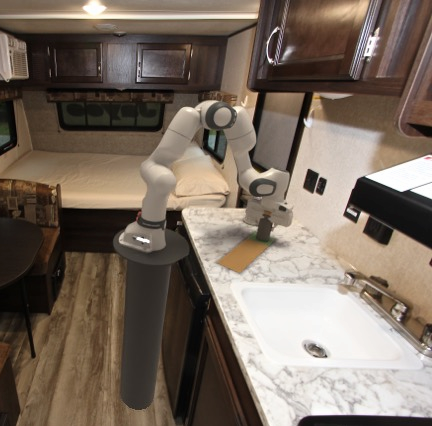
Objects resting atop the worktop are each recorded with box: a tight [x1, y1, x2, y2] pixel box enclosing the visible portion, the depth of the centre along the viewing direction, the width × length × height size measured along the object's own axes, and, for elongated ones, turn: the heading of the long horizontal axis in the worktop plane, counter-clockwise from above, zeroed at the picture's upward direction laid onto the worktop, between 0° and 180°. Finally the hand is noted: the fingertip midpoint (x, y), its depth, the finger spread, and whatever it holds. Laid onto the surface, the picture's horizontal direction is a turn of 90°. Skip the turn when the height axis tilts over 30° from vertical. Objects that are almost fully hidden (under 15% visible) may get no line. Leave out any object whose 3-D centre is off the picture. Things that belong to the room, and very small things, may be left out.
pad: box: [247, 231, 277, 247], centre depth 143 cm, size 10×10×1 cm
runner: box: [216, 237, 269, 274], centre depth 130 cm, size 31×10×1 cm, turn 134°
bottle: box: [256, 210, 274, 241], centre depth 140 cm, size 6×6×15 cm
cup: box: [243, 203, 260, 226], centre depth 157 cm, size 10×9×12 cm
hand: (264, 228), depth 141 cm, fingers closed on bottle, 5 cm apart
